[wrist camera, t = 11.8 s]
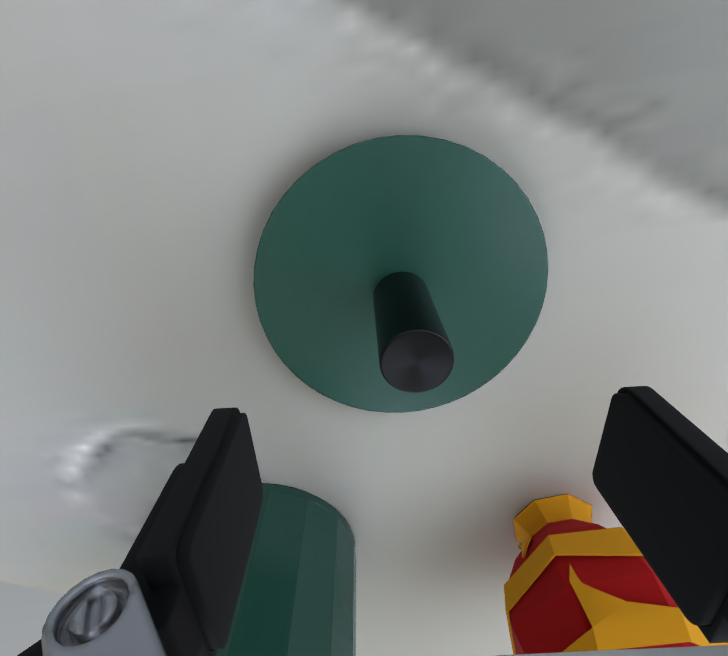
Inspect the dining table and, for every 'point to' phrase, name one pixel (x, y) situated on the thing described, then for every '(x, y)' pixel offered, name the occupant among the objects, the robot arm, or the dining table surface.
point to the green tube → (296, 581)
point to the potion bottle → (586, 587)
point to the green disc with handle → (400, 273)
